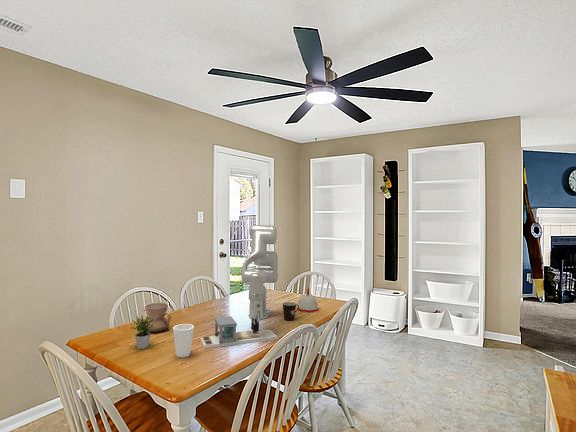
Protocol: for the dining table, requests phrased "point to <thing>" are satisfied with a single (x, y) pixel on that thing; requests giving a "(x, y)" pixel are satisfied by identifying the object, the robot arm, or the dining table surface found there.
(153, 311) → the ceramic jug
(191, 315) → the dining table surface
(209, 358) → the dining table surface
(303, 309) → the grey service bell
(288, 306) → the coffee mug
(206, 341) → the tunnel board
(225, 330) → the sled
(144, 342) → the house plant
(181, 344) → the foam cup
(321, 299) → the dining table surface
